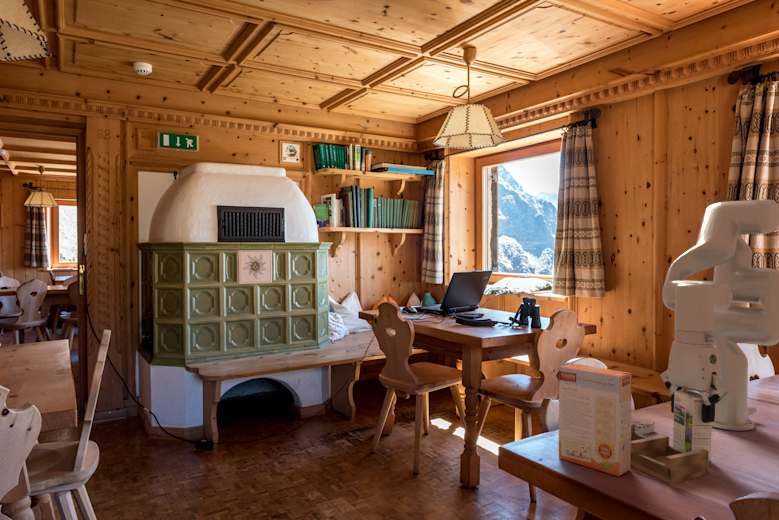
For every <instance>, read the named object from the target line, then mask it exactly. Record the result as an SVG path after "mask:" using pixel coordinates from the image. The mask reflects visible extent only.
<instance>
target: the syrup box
mask: <svg viewBox="0 0 779 520" xmlns="http://www.w3.org/2000/svg"><path fill="white" fill-rule="evenodd" d="M709 398H710V397H709ZM702 404H705V402H704V400H703V398H702V395H701V393H700V391H696V390H692V389H686V390H685V389H683V390H680V391H675V392H674V413H673V429H672V433H673V434H672V436H673V437H672V447H674V448H677V449H680V450H682V451H685V452H691V451H696V450H701V449H705V450H707V451H709V452H708V462H711V460H712V435H713V434H712V431H713V430H712V428H713V427H712V422H709V423H704V422H702Z"/></svg>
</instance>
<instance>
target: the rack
mask: <svg viewBox="0 0 779 520" xmlns="http://www.w3.org/2000/svg"><path fill="white" fill-rule="evenodd" d="M635 429H636V427H635V424H633V423H631V468H632V467H633V468H635V469H637V470H639V471H642V472H644V473H645V474H648V475H650V476H652V477H655V478H657V479H659V480H661V481H662V482H663V481H664V482H665V483H668V484H670V485H671V484H676V483H679V482H684V481H688V480H692V478H693V479H696V477H697V478H701V477H705V476H709V461H708V452H709V451H707V450H705V449H701V450H696V451H691V452H685V451H682V450H680V449H677V448H674V447H673V445H670V436H668V435H666V434H661V435H658V436H651V437H648V436H645V435H640V434H638V433H635Z"/></svg>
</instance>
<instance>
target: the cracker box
mask: <svg viewBox="0 0 779 520" xmlns="http://www.w3.org/2000/svg"><path fill="white" fill-rule="evenodd" d="M558 370H559V371H558V373H559V375H558V376H559V377H558V378H559V380H558V382H559V383H558V385H559V386H558V387H559V388H558V459H561V460H564V461H568V462H570V463H573V464H578V465H580V466H583V467H588V468H590V469H593V470H596V471H599V472H603V473H606V474H610V475H612V476H615V477H620V476H621V475H624V474H626V473H628V472H629V471H631V469H632V466H631V421H632V373H631V372H627V371H620V370H615V369H609V368H604V367H603V368H602V367H597V366H591V365H584V364H578V363H568V364H565V365H560V366H559V369H558Z"/></svg>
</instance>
